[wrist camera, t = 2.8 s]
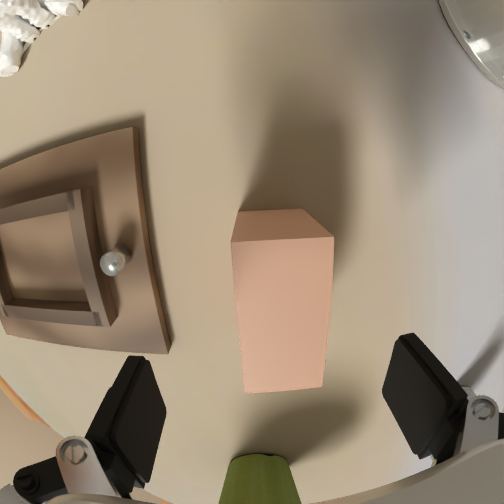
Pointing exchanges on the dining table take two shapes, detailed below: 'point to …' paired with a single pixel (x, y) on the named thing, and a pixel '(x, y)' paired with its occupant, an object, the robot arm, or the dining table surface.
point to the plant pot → (259, 481)
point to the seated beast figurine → (27, 26)
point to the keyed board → (80, 248)
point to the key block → (282, 298)
